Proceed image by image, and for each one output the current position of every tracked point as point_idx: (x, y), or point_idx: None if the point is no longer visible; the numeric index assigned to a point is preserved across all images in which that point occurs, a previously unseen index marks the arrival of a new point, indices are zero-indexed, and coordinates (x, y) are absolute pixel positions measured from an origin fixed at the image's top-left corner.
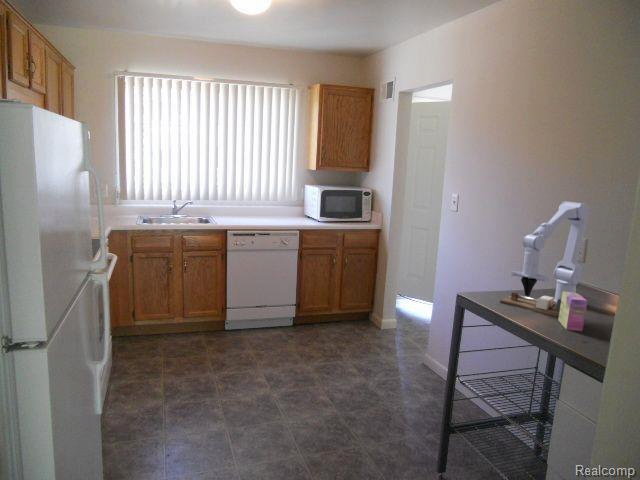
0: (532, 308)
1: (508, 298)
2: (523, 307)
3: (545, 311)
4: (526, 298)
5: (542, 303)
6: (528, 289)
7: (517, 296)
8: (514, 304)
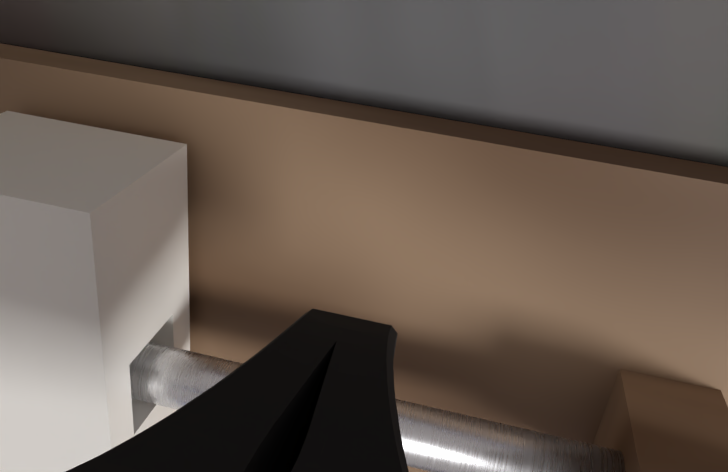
0: (242, 98)
1: None
2: (422, 122)
3: (9, 54)
4: (404, 411)
5: (6, 161)
6: (233, 412)
7: (603, 459)
8: (619, 158)
